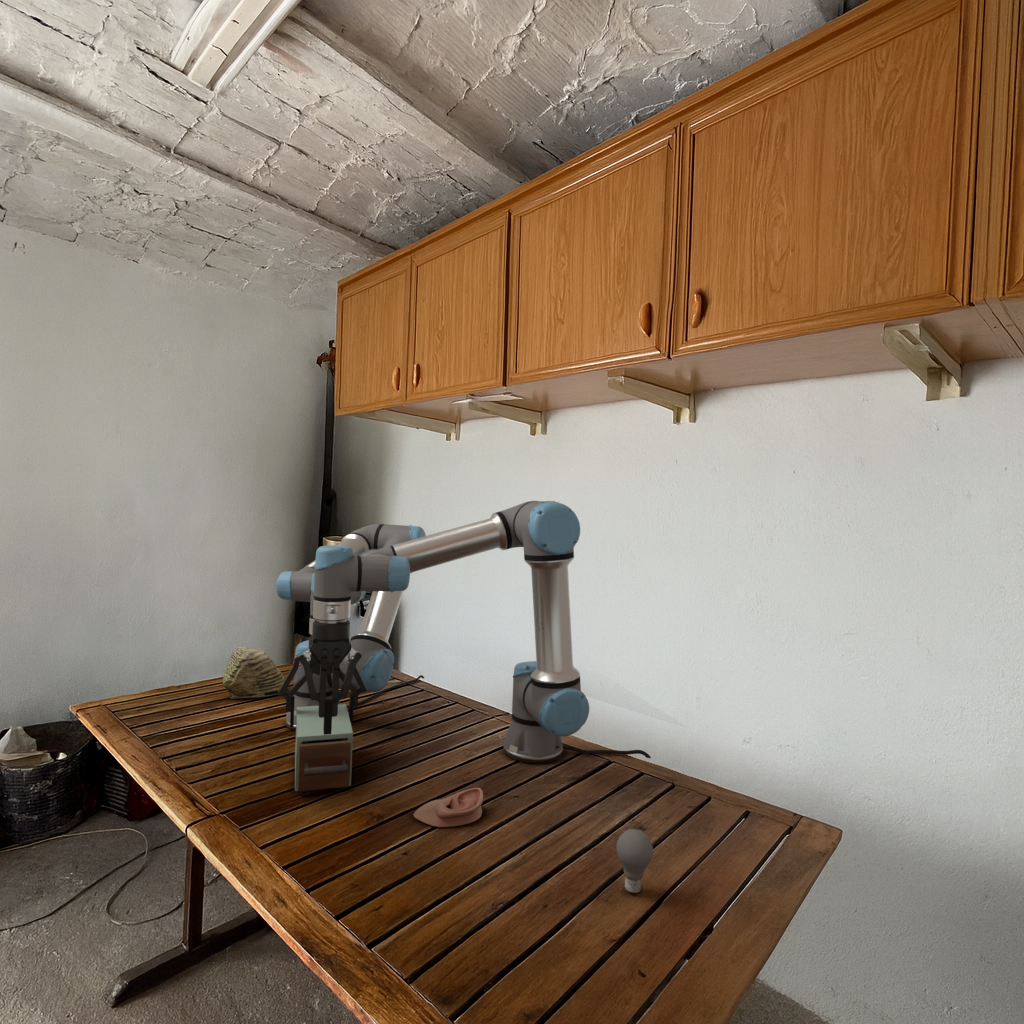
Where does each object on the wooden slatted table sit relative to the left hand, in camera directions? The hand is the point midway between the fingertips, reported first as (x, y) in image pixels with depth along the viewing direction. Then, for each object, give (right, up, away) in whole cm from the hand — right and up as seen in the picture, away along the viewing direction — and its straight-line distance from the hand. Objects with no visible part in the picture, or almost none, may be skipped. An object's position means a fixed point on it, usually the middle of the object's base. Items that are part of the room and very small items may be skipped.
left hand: (321, 723), depth 153 cm
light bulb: (+66, -12, -47) cm, 82 cm away
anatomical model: (+33, -11, -24) cm, 42 cm away
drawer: (+4, -8, -12) cm, 15 cm away
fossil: (-35, -6, +45) cm, 57 cm away
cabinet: (+2, -9, -6) cm, 11 cm away
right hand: (+7, +5, -20) cm, 22 cm away
